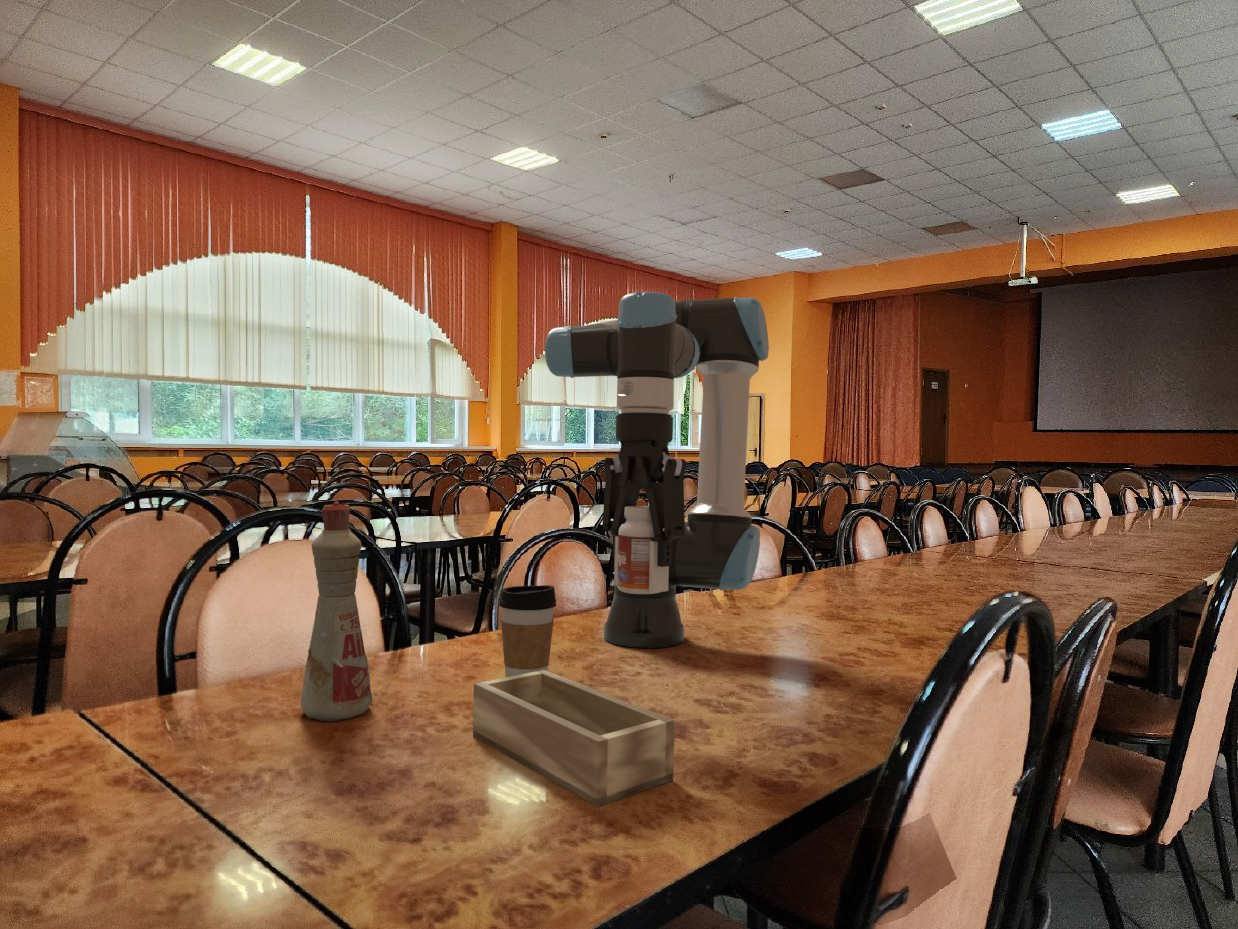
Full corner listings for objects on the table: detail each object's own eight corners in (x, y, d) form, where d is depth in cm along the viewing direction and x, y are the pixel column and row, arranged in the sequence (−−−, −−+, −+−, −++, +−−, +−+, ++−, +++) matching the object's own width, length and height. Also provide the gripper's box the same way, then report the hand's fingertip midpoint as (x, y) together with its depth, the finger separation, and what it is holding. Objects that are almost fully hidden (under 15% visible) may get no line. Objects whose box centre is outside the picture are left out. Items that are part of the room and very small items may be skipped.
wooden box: (543, 719, 104) (544, 669, 104) (672, 780, 86) (674, 720, 86) (472, 736, 98) (473, 683, 98) (597, 807, 79) (598, 741, 79)
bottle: (315, 700, 110) (318, 498, 110) (380, 702, 110) (383, 499, 109) (287, 722, 102) (290, 502, 101) (358, 724, 101) (361, 503, 101)
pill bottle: (617, 586, 108) (618, 505, 108) (662, 587, 108) (664, 506, 108) (616, 594, 102) (618, 507, 102) (665, 595, 102) (666, 508, 102)
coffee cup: (545, 699, 113) (547, 593, 113) (488, 694, 115) (490, 590, 114) (561, 682, 121) (563, 584, 121) (508, 678, 123) (510, 581, 123)
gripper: (577, 412, 110) (573, 580, 110) (675, 408, 95) (670, 601, 95) (619, 415, 115) (615, 576, 115) (718, 411, 100) (713, 595, 100)
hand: (640, 587), depth 105 cm, fingers closed on pill bottle, 6 cm apart
